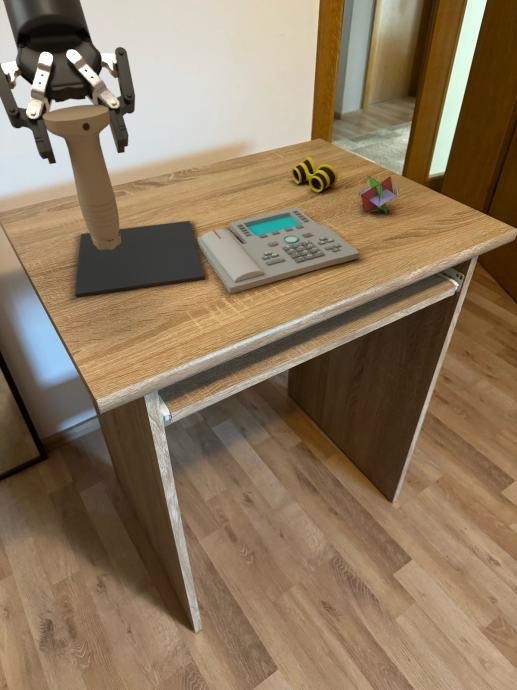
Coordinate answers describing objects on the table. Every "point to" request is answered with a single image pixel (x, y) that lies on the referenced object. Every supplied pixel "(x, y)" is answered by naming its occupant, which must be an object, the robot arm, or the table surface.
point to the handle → (89, 168)
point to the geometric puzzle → (378, 194)
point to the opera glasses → (314, 175)
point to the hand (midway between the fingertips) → (86, 154)
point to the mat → (139, 260)
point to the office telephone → (272, 249)
